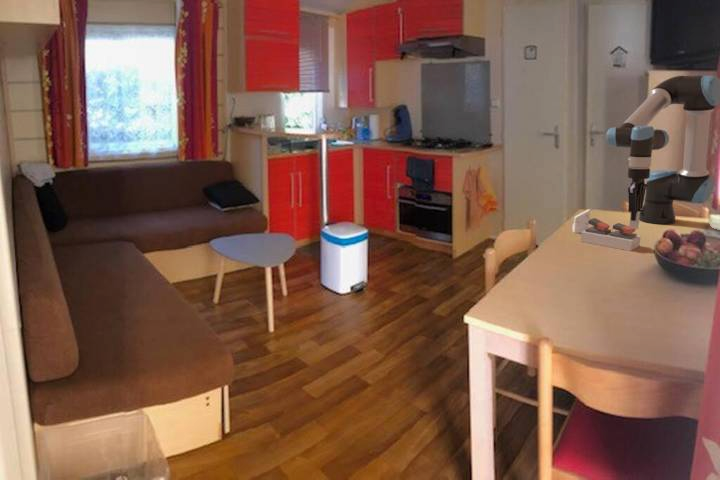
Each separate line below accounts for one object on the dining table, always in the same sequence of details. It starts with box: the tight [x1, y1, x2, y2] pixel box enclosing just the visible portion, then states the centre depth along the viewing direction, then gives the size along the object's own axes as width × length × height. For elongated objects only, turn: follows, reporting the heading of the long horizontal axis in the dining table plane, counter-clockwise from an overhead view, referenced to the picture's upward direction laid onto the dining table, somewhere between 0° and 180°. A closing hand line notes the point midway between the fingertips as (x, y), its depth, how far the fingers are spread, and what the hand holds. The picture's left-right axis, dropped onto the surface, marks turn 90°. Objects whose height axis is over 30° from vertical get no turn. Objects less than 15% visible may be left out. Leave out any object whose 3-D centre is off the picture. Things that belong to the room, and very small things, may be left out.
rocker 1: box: [588, 217, 611, 231], centre depth 244 cm, size 5×7×2 cm
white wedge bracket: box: [571, 208, 591, 234], centre depth 260 cm, size 4×10×9 cm, turn 84°
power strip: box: [580, 226, 641, 252], centre depth 242 cm, size 9×20×5 cm, turn 45°
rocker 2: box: [611, 222, 636, 234], centre depth 237 cm, size 5×7×2 cm
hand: (633, 228), depth 234 cm, fingers closed
